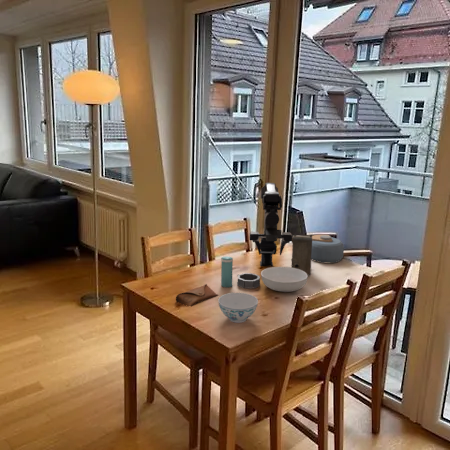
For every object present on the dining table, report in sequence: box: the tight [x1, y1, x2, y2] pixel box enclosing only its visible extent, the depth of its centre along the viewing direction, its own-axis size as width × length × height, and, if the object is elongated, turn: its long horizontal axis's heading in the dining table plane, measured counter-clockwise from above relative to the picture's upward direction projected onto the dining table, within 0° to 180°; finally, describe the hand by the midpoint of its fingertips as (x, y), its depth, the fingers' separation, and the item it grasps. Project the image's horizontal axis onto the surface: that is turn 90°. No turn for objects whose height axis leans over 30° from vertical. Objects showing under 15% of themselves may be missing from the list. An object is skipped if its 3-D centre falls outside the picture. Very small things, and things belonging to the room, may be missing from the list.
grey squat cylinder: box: [311, 234, 345, 263], centre depth 246 cm, size 19×20×12 cm
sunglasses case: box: [175, 283, 219, 307], centre depth 191 cm, size 18×7×7 cm
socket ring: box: [236, 272, 261, 289], centre depth 207 cm, size 10×10×4 cm
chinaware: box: [217, 292, 259, 324], centre depth 172 cm, size 15×15×8 cm
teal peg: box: [220, 256, 234, 288], centre depth 204 cm, size 5×5×13 cm
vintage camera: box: [290, 234, 313, 276], centre depth 224 cm, size 10×15×20 cm, turn 174°
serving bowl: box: [260, 266, 309, 293], centre depth 203 cm, size 21×21×7 cm
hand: (270, 254), depth 204 cm, fingers open, 9 cm apart
